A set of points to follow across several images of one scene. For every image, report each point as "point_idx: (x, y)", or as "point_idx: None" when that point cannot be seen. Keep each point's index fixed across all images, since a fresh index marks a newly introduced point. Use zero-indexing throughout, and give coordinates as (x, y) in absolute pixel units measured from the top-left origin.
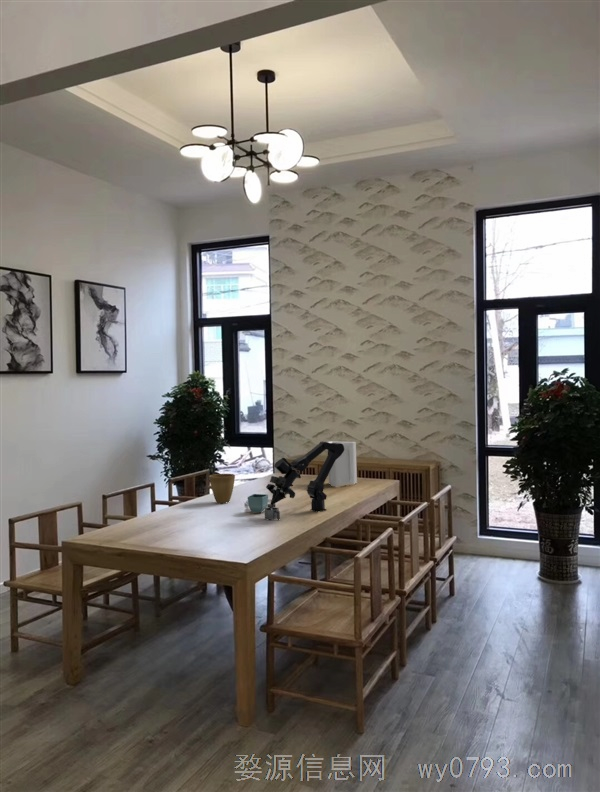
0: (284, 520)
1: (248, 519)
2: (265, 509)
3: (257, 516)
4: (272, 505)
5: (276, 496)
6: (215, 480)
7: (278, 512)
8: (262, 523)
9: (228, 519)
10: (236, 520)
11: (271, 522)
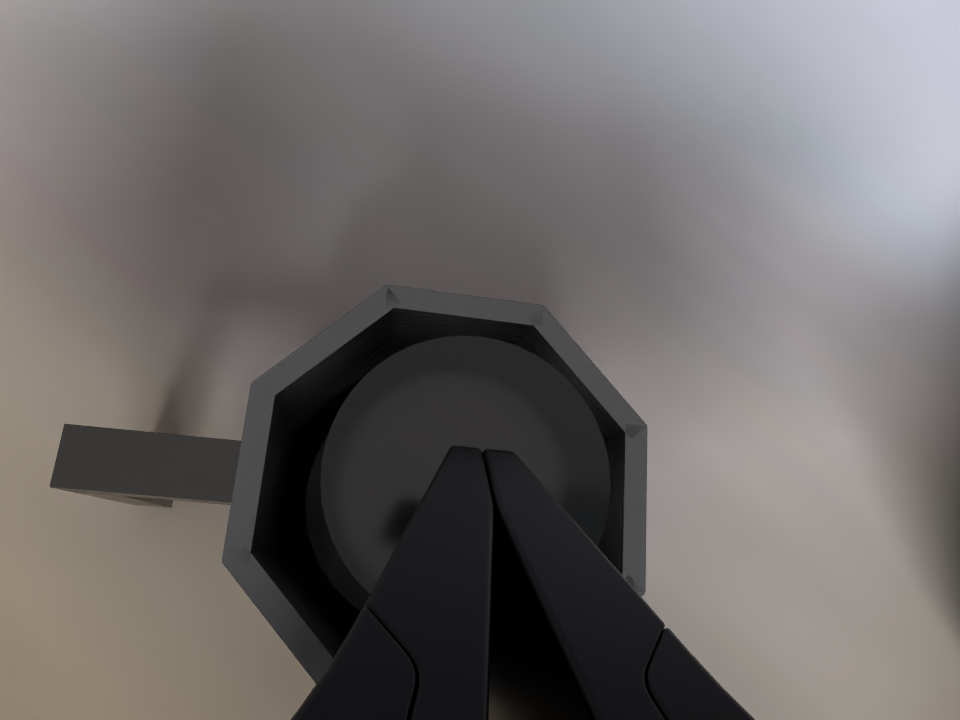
0: (33, 573)
1: (710, 189)
2: (518, 316)
3: (805, 453)
4: (339, 411)
5: (310, 698)
6: None
7: (70, 443)
8: (249, 111)
9: (924, 24)
10: (785, 39)
11: (156, 261)
